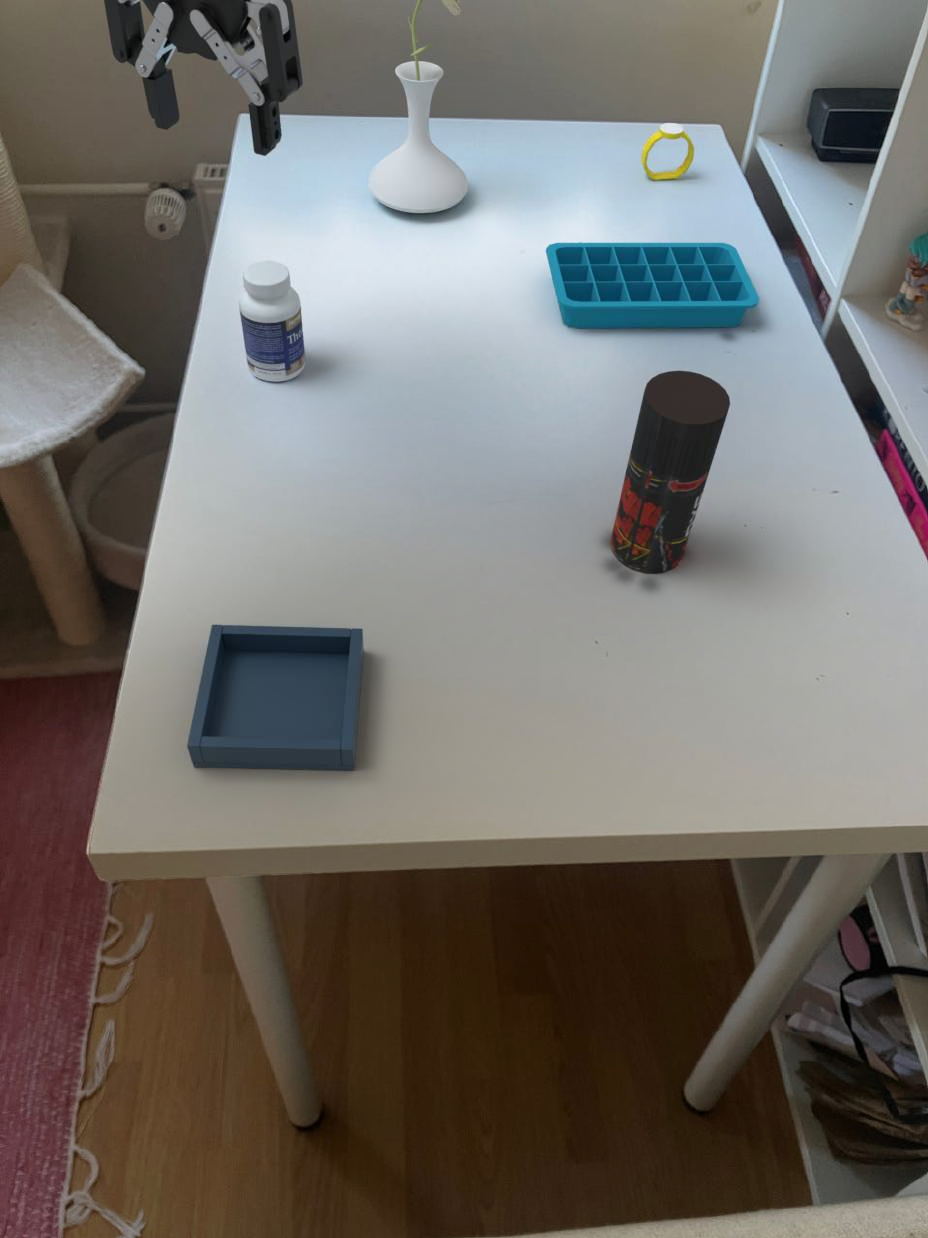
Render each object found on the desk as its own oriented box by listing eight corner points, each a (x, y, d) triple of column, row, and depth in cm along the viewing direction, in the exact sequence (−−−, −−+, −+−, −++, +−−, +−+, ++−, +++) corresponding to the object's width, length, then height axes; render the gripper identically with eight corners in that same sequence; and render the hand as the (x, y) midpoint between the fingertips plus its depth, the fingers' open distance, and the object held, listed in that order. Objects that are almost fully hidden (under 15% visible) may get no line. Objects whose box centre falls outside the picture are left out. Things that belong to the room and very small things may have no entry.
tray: (193, 767, 66) (186, 746, 64) (217, 646, 73) (211, 624, 71) (354, 771, 67) (352, 749, 65) (363, 650, 73) (362, 628, 71)
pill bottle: (302, 385, 92) (293, 291, 85) (244, 382, 92) (229, 288, 85) (309, 350, 96) (301, 256, 88) (252, 347, 96) (239, 253, 88)
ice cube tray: (754, 331, 101) (762, 305, 99) (556, 333, 99) (560, 306, 97) (726, 268, 108) (733, 242, 106) (541, 268, 107) (544, 242, 104)
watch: (684, 171, 122) (695, 121, 117) (690, 182, 120) (701, 132, 116) (636, 172, 121) (645, 122, 117) (641, 183, 120) (651, 133, 115)
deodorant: (614, 514, 83) (648, 364, 72) (686, 527, 83) (731, 378, 71) (606, 566, 79) (640, 416, 68) (681, 579, 79) (728, 430, 67)
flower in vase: (467, 226, 112) (480, -30, 92) (364, 221, 111) (356, -36, 92) (468, 169, 120) (480, -76, 101) (372, 164, 120) (366, -82, 100)
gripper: (46, -125, 62) (107, 137, 75) (245, -85, 59) (274, 182, 72) (119, -154, 67) (165, 98, 79) (307, -119, 64) (324, 138, 76)
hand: (217, 137), depth 76 cm, fingers open, 8 cm apart
